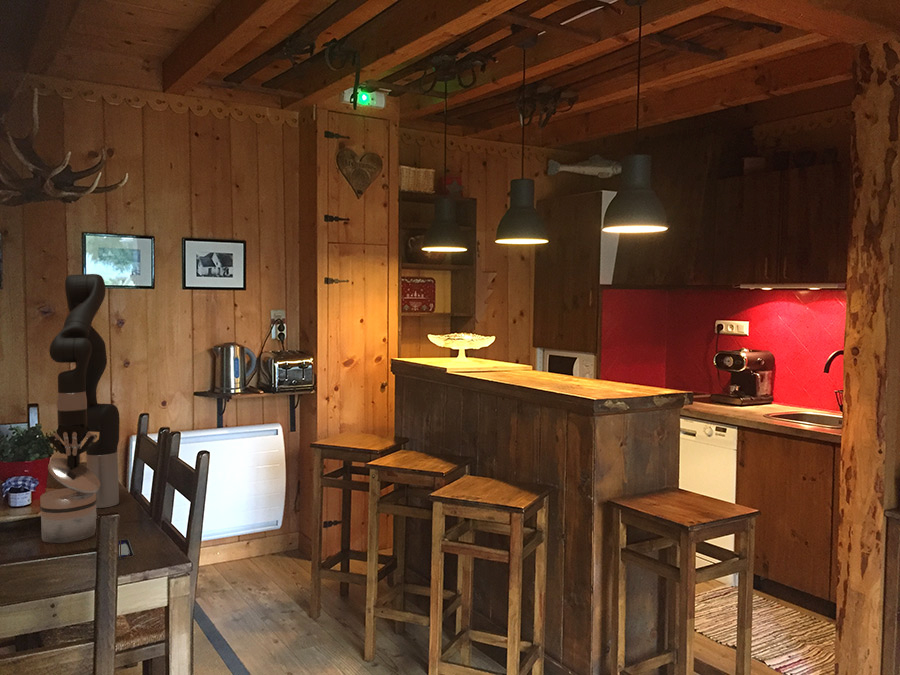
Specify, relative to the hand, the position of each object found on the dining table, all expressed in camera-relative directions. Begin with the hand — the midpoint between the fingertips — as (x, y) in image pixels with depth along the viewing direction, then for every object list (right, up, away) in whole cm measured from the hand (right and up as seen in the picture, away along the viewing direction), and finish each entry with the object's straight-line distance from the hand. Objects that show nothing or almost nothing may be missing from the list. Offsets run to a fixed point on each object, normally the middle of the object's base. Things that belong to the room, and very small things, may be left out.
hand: (73, 468), depth 211 cm
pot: (-1, -19, -1) cm, 19 cm away
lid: (+1, -2, -1) cm, 3 cm away
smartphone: (+19, -20, -15) cm, 31 cm away
